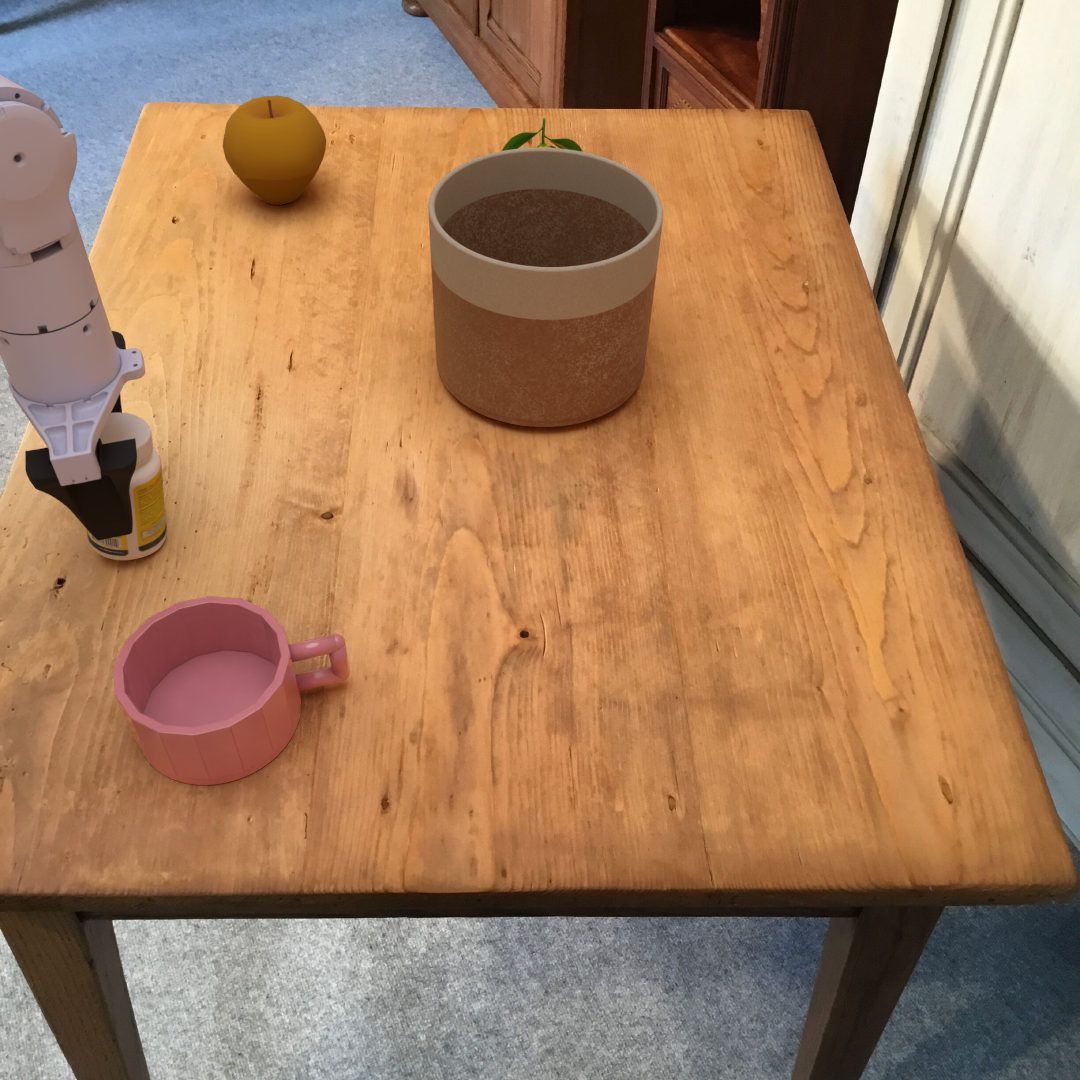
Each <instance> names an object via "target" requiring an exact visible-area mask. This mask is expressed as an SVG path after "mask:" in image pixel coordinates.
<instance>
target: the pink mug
mask: <svg viewBox="0 0 1080 1080" xmlns="http://www.w3.org/2000/svg"><path fill="white" fill-rule="evenodd" d="M327 655H328V658H329V664H330V665H329V666H324V667H321V668H316V669H312V670H311V669H310V670H307V671H303V672H300V673H296V670H295V666H294V663H296V662H300V661H304V660H309V659H314V658H318V657H322V656H327ZM350 667H351V666H350V662H349V656H348V651H347V645H346V640H345V637H344V636H343V635H342V634H340V633H333V634H329V635H324V636H319V637H316V638H311V639H307V640H302V641H298V642H293V643H289V639H288V635H287V631H286V629H285V628H284V627H283V626H282V624H281V623H279V621H278V620H277V618H275V617H274V615H273V613H271V612H270V611H269V610H268V609H266V608H264V607H262V606H260V605H257V604H255V603H253V602H251V601H249V600H246V599H244V598H241V597H229V596H218V595H217V596H216V595H207V596H203V597H198V598H193V599H189V600H183V601H179V602H176V603H174V604H172V605H170V606H169V607H167V608H165V609H163V610H161V611H159V612H157V613H155V614H153V615H151V616H150V617H148V618H147V619H146V620H144V622H142V623H141V624H140V625H139V626H138V627H137V628H136V630H135V631H134V632H132V634H131V635H130V636H129V637H128V638H127V639H125V641H124V642H123V645H122V647H121V650H120V652H119V654H118V656H117V659H116V661H115V663H114V666H113V669H112V673H113V685H114V686H113V687H114V696H115V699H116V701H117V704H118V706H119V707H120V710H121V712H122V714H123V716H124V719H125V721H126V723H127V726H128V728H129V730H130V733H131V734H132V737H133V739H134V741H135V743H136V744H137V746H138V747H139V750H140V751H141V753H142V755H143V756H144V758H145V760H146V761H147V762H148V763H149V765H150V766H152V767H153V768H154V769H155V770H156V771H157V772H159V773H161V774H162V775H163V776H165V777H167V778H170V779H171V780H174V781H177V782H180V783H184V784H189V785H194V786H195V785H196V786H212V785H221V784H226V783H231V782H234V781H237V780H240V779H243V778H245V777H248V776H250V775H252V774H254V773H256V772H257V771H259V770H261V769H263V768H264V767H266V766H267V765H269V764H270V763H271V762H272V761H273V760H274V759H275V758H276V757H278V756H279V755H280V754H281V753H282V751H283V750H284V749H285V748H286V747H287V745H288V744H289V743H290V742H291V740H292V738H293V736H294V734H295V732H296V730H297V727H298V725H299V722H300V717H301V712H302V699H301V693H300V692H304V691H309V690H313V689H317V688H321V687H324V686H329V685H333V684H338V683H341V682H345V681H347V680H348V679H349V678H350V675H351V668H350Z"/></svg>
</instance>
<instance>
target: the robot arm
mask: <svg viewBox="0 0 1080 1080" xmlns="http://www.w3.org/2000/svg"><path fill="white" fill-rule="evenodd" d="M44 101H45V100H44V99H43V98H41V97H40V96H39V95H37V94H36V93H33V91H31V90H28V89H26V88H25V87H23V86H21V85H19V84H17V83H15V82H14V81H12V80H10V79H9V78H7V77H5V76H3V75H2V74H0V359H1V360H2V363H3V366H4V369H5V370H6V373H7V375H8V378H7V382H8V388H9V389H10V392H11V395H12V397H13V399H14V400H15V402H16V403H17V405H18V407H20V409H21V411H22V412H23V414H24V415H25V417H26V418H27V419H28V421H29V423H30V424H31V425H32V426H33V428H34V430H35V431H36V433H38V435H39V437H40V438H41V440H42V441H43V443H44V445H46V447H42V448H36V449H31V450H26V451H24V453H25V454H24V455H25V457H24V458H25V459H24V462H25V463H24V464H25V469H24V470H25V474H26V476H27V478H28V480H29V482H30V483H31V485H32V487H33V488H34V489H35V490H38V491H40V492H42V493H45V494H47V495H48V496H50V497H52V498H54V499H55V500H56V501H58V502H60V503H61V504H62V505H64V506H65V507H66V508H67V509H68V510H69V511H70V512H71V513H72V514H73V516H75V518H77V519H78V521H79V522H80V523H81V524H82V525H83V527H84V528H85V530H86V531H87V530H88V531H89V532H90V533H91V534H92V535H93V536H94V537H95V538H96V539H97V540H104V539H109V538H114V537H119V536H124V535H129V534H131V533H132V530H133V517H132V507H131V500H130V493H129V489H130V482H131V479H132V476H133V474H134V472H135V468H136V463H137V449H136V440H135V438H134V439H129V440H123V441H117V442H112V443H106V444H102V441H101V439H100V438H99V437H100V435H101V433H102V431H103V428H104V426H105V424H106V422H107V420H108V418H109V416H110V414H111V413H123V408H122V400H121V392H122V390H123V388H124V387H125V384H126V383H128V382H129V381H133V380H138V379H141V378H142V377H144V376H145V375H146V365H145V359H144V355H143V352H142V350H141V349H139V348H137V347H135V348H127V345H126V340H125V338H124V335H123V334H122V333H121V332H119V331H116V330H112V328H111V325H110V322H109V318H108V316H107V313H106V310H105V306H104V304H103V301H102V298H101V294H100V291H99V288H98V285H97V281H96V278H95V275H94V272H93V269H92V266H91V262H90V259H89V256H88V253H87V249H86V247H85V243H84V241H83V238H82V235H81V231H80V228H79V225H78V222H77V219H76V215H75V212H74V211H73V207H72V204H71V201H70V189H71V185H72V182H73V180H74V176H75V173H76V169H77V164H78V144H77V139H76V134H75V133H74V132H71V131H69V132H68V130H67V129H65V128H64V126H63V124H62V122H61V120H60V117H59V116H58V115H57V113H56V112H55V110H54V109H53V107H51V105H49V104H47V103H46V102H44Z"/></svg>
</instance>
